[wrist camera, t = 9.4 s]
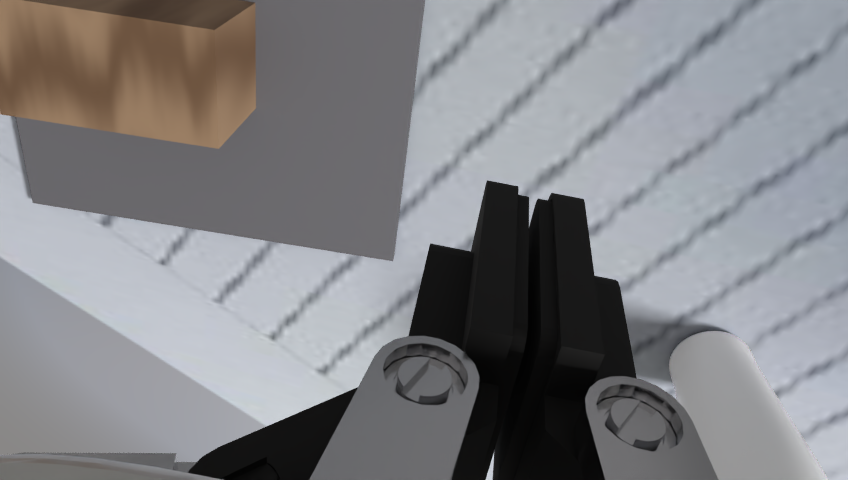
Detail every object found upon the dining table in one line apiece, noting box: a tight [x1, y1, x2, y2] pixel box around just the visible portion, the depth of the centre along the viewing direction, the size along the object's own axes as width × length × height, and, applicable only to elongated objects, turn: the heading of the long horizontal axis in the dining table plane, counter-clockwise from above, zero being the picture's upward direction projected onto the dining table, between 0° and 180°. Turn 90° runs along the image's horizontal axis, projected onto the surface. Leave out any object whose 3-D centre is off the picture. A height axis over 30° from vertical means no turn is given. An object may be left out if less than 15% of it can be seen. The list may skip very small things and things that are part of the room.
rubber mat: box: [16, 0, 425, 261], centre depth 38 cm, size 24×24×1 cm
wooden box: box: [0, 0, 256, 149], centre depth 36 cm, size 6×6×12 cm
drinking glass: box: [669, 331, 828, 480], centre depth 40 cm, size 7×7×15 cm
